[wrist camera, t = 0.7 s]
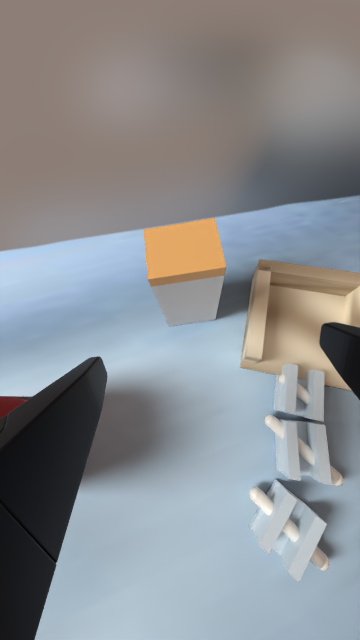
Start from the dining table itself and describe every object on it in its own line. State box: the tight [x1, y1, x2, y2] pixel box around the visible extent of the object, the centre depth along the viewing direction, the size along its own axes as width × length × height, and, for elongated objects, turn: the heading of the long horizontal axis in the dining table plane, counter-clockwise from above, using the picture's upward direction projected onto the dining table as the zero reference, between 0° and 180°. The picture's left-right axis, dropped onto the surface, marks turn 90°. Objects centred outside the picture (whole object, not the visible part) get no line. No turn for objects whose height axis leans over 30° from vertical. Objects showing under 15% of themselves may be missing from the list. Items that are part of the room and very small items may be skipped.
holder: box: [240, 260, 360, 391], centre depth 21 cm, size 10×10×3 cm
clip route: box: [249, 363, 343, 582], centre depth 18 cm, size 6×14×2 cm, turn 161°
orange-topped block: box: [144, 218, 226, 327], centre depth 19 cm, size 4×5×10 cm
